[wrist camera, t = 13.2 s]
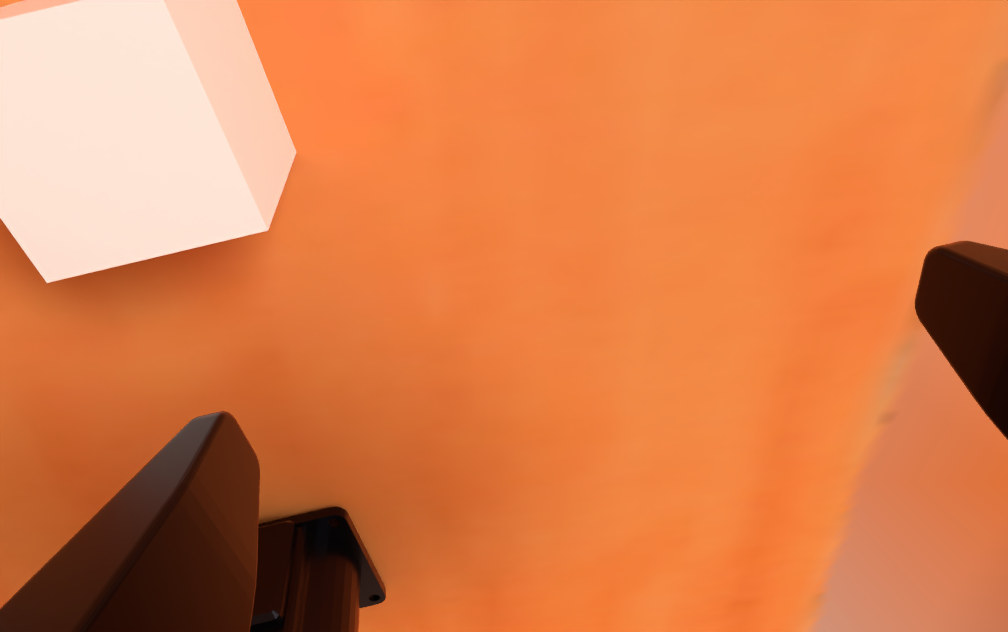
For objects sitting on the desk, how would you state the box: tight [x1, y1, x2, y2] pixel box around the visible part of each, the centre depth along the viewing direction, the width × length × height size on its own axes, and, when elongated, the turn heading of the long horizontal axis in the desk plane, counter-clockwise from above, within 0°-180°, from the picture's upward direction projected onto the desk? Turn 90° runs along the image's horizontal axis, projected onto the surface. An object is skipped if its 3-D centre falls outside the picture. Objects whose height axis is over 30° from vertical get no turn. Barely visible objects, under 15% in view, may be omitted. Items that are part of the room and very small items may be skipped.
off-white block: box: [0, 0, 296, 283], centre depth 15 cm, size 5×5×5 cm
